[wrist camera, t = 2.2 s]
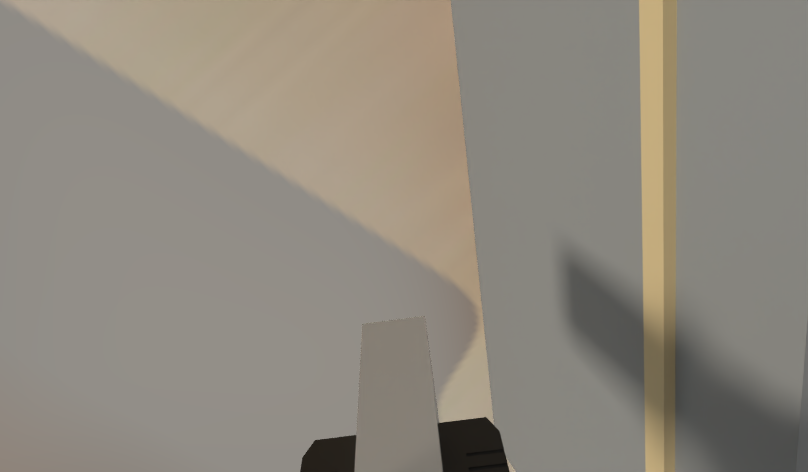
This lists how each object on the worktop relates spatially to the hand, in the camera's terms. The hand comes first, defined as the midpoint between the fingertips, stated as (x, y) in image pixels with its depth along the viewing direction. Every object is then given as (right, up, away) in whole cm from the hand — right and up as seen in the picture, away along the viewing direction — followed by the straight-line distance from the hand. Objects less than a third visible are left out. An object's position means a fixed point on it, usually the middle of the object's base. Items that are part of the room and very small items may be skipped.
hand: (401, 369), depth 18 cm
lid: (+6, +2, +3) cm, 7 cm away
